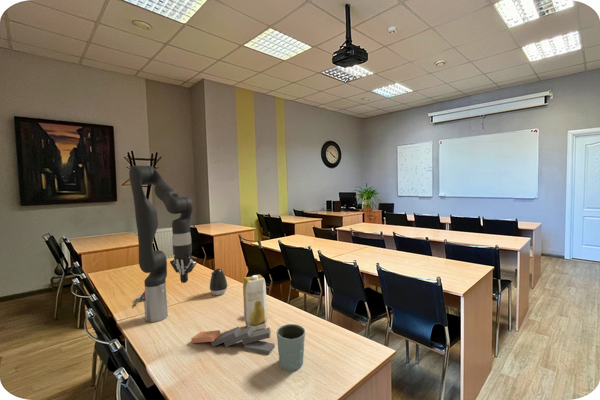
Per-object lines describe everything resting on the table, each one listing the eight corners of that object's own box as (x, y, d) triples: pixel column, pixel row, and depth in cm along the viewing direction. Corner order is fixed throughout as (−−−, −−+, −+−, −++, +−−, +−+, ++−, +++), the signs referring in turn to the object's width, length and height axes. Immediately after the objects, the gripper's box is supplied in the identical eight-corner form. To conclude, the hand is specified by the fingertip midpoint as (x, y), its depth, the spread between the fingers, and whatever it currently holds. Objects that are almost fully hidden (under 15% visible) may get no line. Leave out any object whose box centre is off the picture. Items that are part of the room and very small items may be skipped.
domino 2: (210, 342, 112) (233, 333, 110) (216, 335, 117) (238, 326, 115) (213, 346, 112) (236, 337, 110) (218, 339, 117) (240, 330, 115)
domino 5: (243, 345, 109) (268, 350, 105) (250, 339, 114) (274, 343, 110) (244, 350, 109) (269, 356, 106) (250, 343, 114) (274, 348, 110)
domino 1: (191, 338, 115) (211, 336, 111) (199, 332, 119) (219, 330, 115) (192, 343, 115) (212, 341, 110) (201, 336, 119) (220, 334, 115)
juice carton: (248, 333, 121) (246, 279, 119) (243, 325, 128) (241, 274, 126) (268, 328, 125) (266, 275, 123) (262, 320, 132) (260, 270, 130)
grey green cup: (277, 355, 105) (276, 324, 104) (304, 353, 105) (303, 322, 105) (278, 374, 94) (276, 340, 94) (307, 371, 95) (306, 337, 95)
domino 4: (241, 339, 111) (268, 332, 111) (243, 333, 116) (269, 327, 116) (242, 344, 111) (269, 337, 111) (244, 338, 116) (270, 332, 116)
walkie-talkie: (141, 294, 170) (132, 308, 151) (140, 287, 170) (132, 300, 151) (157, 292, 173) (150, 305, 154) (156, 285, 173) (150, 297, 154)
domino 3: (223, 342, 111) (247, 332, 109) (228, 335, 116) (251, 325, 114) (226, 347, 111) (249, 337, 109) (230, 340, 116) (253, 330, 114)
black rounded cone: (206, 295, 164) (204, 270, 163) (217, 289, 173) (216, 265, 172) (220, 298, 160) (218, 272, 159) (231, 291, 170) (229, 266, 169)
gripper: (200, 241, 122) (202, 280, 123) (176, 240, 126) (178, 278, 127) (188, 245, 115) (190, 286, 116) (163, 244, 119) (165, 283, 120)
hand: (184, 282), depth 121 cm, fingers closed
